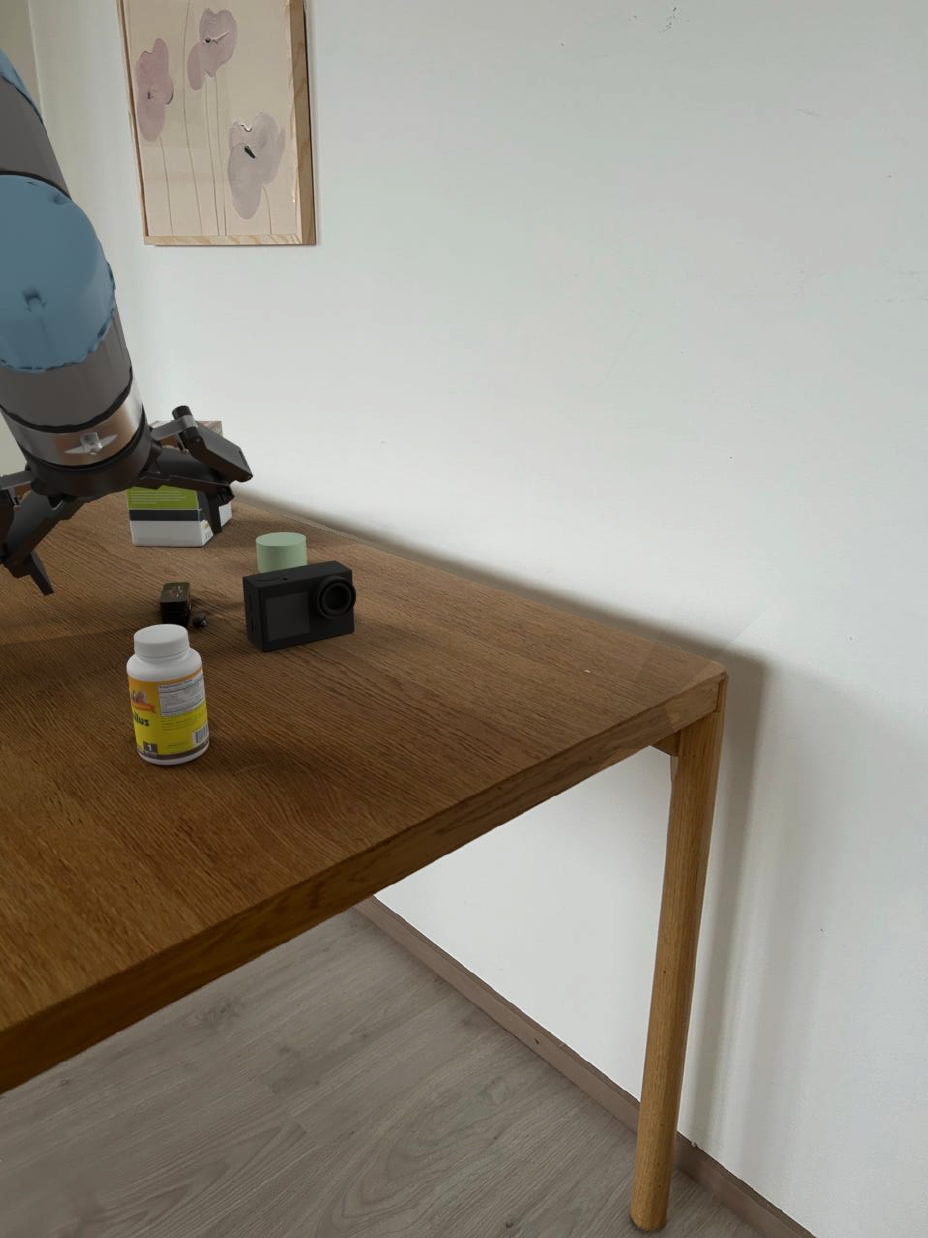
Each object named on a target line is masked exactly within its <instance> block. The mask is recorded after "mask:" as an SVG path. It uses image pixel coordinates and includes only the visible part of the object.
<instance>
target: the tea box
mask: <svg viewBox="0 0 928 1238" xmlns="http://www.w3.org/2000/svg"><path fill="white" fill-rule="evenodd" d="M170 421H171V420H155V421H153V422H151V423H148V425H150V426H152V427H153V428H156V427H159V426H161V425H164V424H166V423H169V422H170ZM197 421H198V422H199V423H201V424H203V425H204V426H206V427H208V428H209V429H211V430H213V431H214V432H216V433H217V434H219V435H221V436H222V437H224V433H223V431H224V430H223V423H222V420H197ZM162 447H164V448H169V449H174V450H178V451H180V449H179V448H175V447H173V446H171V445H165V446H162ZM188 453H189V452H188ZM124 491H125V496H126V497H125V498H126V505H127V511H128V518H129V526H130V527H129V528H130V534H131V540H132V545H133V546H135V547H174V548H175V547H181V548H182V547H185V548H186V547H191V548H192V547H194V548H195V547H196V548H197V547H204V545H205V544H207V542H208V541H209V540H211V538H212V537H213V536H214V535H213V533H212V531H211V528H210V526H209V524H208V522H207V519H206V517H205V515H204V513H203V511H202V508H201V505H200V499H199V494H198V491H194V490H188V489H182V488H176V487H170V486H164V485H163V486H161V487H160V488H159V489H158V490H153V489H147V488H140V487H132V488H131V489H127V490H124ZM219 512H220V519H221V526H222V527H223V526H224V525H226V523H227V522H228V521H229V520H230V519H231V518H232V517H233V516H232V504H231V501H230V502H229V503H228V504H226V505H223V506H221V507H219Z"/></svg>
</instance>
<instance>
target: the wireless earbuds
mask: <svg viewBox="0 0 928 1238" xmlns="http://www.w3.org/2000/svg"><path fill="white" fill-rule="evenodd" d="M160 593H161V594H160V597H159V610H160V611H159V612H160V617H161V625H162V624H172V625H179V626H182V627H184V628H185V629H187V628H188V627H189V625H190V621H191V625H192V627H193V628H195V629H203V628H207V626H208V623H207V615H206V614H205V613H203V612H199V613H197V614H196V615H194V617H193V618H192V620H191V615H192V610H193V606H191V604H192V590H191V583H190V582H189V581H180V582H179V581H178V582H167V583H164V584H163V587H162V589H161V592H160Z"/></svg>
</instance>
